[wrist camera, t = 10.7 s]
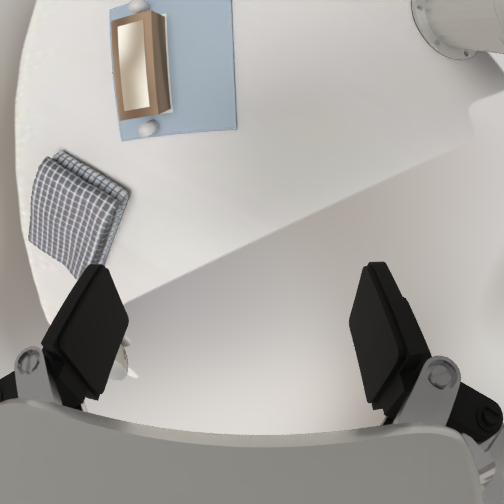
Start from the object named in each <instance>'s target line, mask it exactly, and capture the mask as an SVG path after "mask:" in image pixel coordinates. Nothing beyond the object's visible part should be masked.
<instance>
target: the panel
mask: <svg viewBox="0 0 504 504" xmlns="http://www.w3.org/2000/svg"><path fill="white" fill-rule="evenodd" d="M149 10H152V11H154V12H156V13H158V14H160V15H162V16H164V17H165V34H166V53H167V69H168V82H169V94H170V105H171V109H169V110H167V111H165V112H163V113H161V114H159V115H152V116H146V117H140V118H134V119H128V120H123V121H120V120H119V113H118V105H117V97H116V88H115V78H114V67H113V53H112V35H111V21H113V20H116V19H119V18H123V17H126V16H130V15H133V14H137V13H141V12H145V11H149ZM110 40H111V57H112V69H113V80H114V89H115V98H116V106H117V114H118V121H119V127H120V134H121V140H122V141H126V140H133V139H140V138H147V137H154V136H162V135H171V134H180V133H191V132H203V131H217V130H236V129H237V121H236V100H235V78H234V54H233V30H232V3H231V0H132V1H131V2H130V3H129V4H126V5H123V6H119V7H116V8H113V9H110Z"/></svg>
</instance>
